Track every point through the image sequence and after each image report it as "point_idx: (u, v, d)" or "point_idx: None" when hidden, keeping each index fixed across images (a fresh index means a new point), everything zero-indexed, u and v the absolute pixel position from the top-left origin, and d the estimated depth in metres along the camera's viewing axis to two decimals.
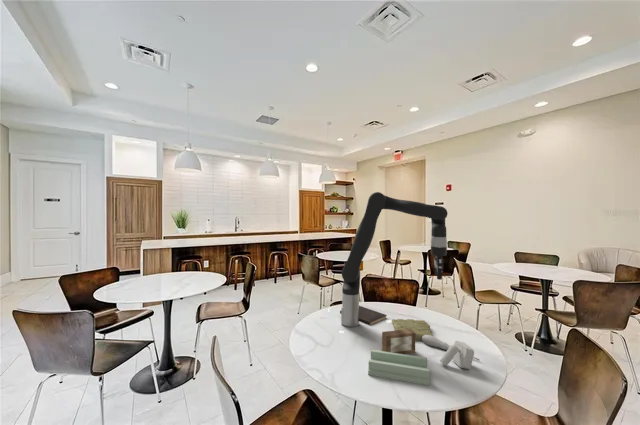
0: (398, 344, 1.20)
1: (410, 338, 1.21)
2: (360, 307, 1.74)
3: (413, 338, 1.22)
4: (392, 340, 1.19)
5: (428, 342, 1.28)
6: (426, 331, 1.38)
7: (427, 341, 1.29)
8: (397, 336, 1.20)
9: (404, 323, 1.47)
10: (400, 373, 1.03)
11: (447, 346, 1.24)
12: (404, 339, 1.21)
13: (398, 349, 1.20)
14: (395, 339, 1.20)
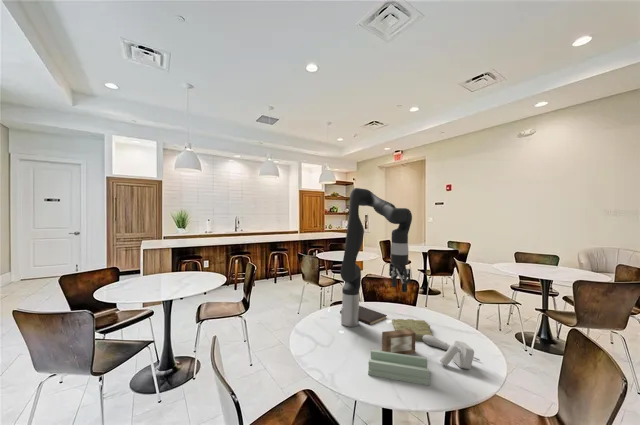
0: (398, 344, 1.20)
1: (410, 338, 1.21)
2: (360, 307, 1.74)
3: (413, 338, 1.22)
4: (392, 340, 1.19)
5: (428, 342, 1.29)
6: (426, 331, 1.38)
7: (427, 341, 1.29)
8: (397, 336, 1.20)
9: (404, 323, 1.47)
10: (400, 373, 1.03)
11: (447, 346, 1.24)
12: (404, 339, 1.21)
13: (398, 349, 1.20)
14: (395, 339, 1.20)
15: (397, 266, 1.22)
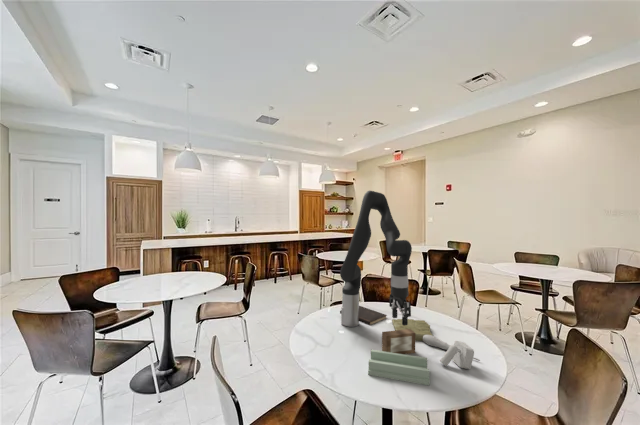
0: (398, 344, 1.20)
1: (410, 338, 1.21)
2: (360, 307, 1.74)
3: (413, 338, 1.22)
4: (392, 340, 1.19)
5: (428, 342, 1.29)
6: (426, 331, 1.38)
7: (427, 341, 1.29)
8: (397, 336, 1.20)
9: None
10: (400, 373, 1.03)
11: (447, 346, 1.24)
12: (404, 339, 1.21)
13: (398, 349, 1.20)
14: (395, 339, 1.20)
15: (397, 298, 1.22)
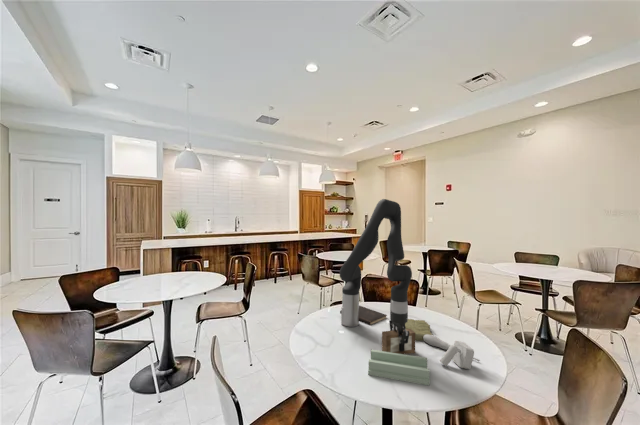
0: (398, 344, 1.20)
1: (410, 338, 1.21)
2: (360, 307, 1.74)
3: (413, 338, 1.22)
4: (392, 340, 1.19)
5: (429, 342, 1.29)
6: (426, 331, 1.38)
7: (428, 341, 1.29)
8: (397, 336, 1.20)
9: None
10: (400, 373, 1.03)
11: (447, 346, 1.24)
12: None
13: (398, 349, 1.20)
14: (395, 338, 1.20)
15: (396, 323, 1.22)
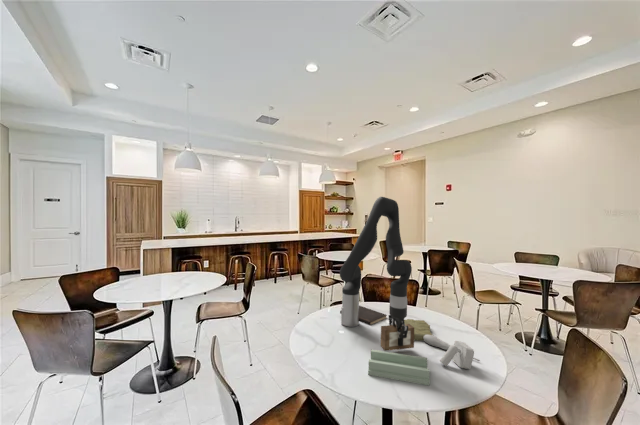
0: (397, 338, 1.20)
1: (409, 333, 1.21)
2: (360, 307, 1.74)
3: (412, 333, 1.22)
4: (391, 335, 1.19)
5: (429, 342, 1.29)
6: (426, 331, 1.38)
7: (428, 341, 1.29)
8: (396, 330, 1.20)
9: None
10: (400, 373, 1.03)
11: (448, 346, 1.24)
12: None
13: (397, 343, 1.20)
14: (394, 333, 1.20)
15: (396, 318, 1.22)
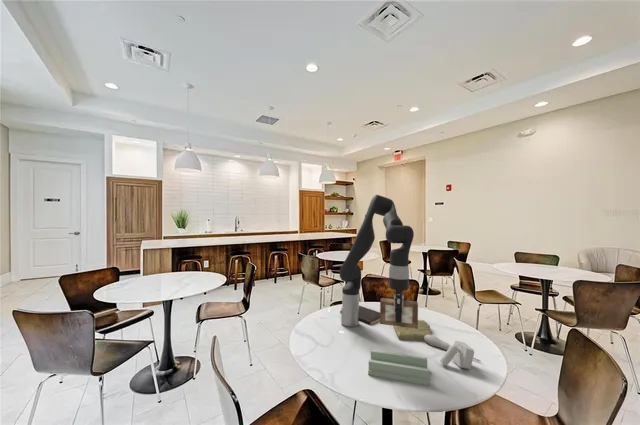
0: (394, 313, 1.06)
1: (410, 309, 1.05)
2: (360, 307, 1.74)
3: (415, 310, 1.04)
4: (387, 307, 1.07)
5: (430, 342, 1.29)
6: (426, 331, 1.38)
7: (428, 341, 1.29)
8: None
9: None
10: (400, 373, 1.03)
11: (448, 346, 1.23)
12: (402, 309, 1.05)
13: (394, 319, 1.06)
14: (390, 306, 1.07)
15: None
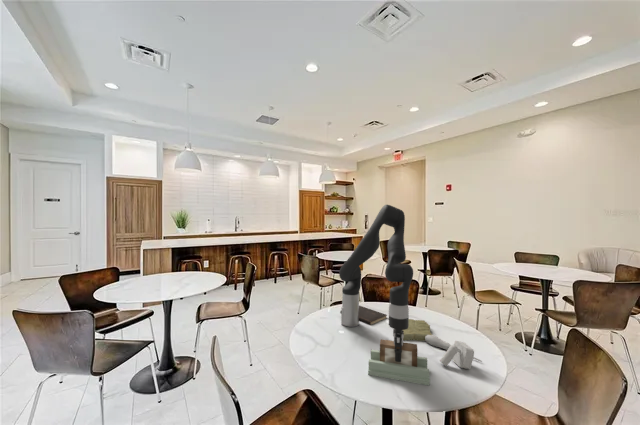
0: (394, 357, 1.07)
1: (410, 354, 1.05)
2: (360, 307, 1.74)
3: (414, 355, 1.05)
4: (386, 350, 1.07)
5: (431, 342, 1.29)
6: (426, 331, 1.38)
7: (429, 341, 1.29)
8: (393, 347, 1.07)
9: None
10: (400, 373, 1.03)
11: (449, 346, 1.23)
12: (402, 353, 1.06)
13: (394, 362, 1.07)
14: (390, 350, 1.07)
15: None
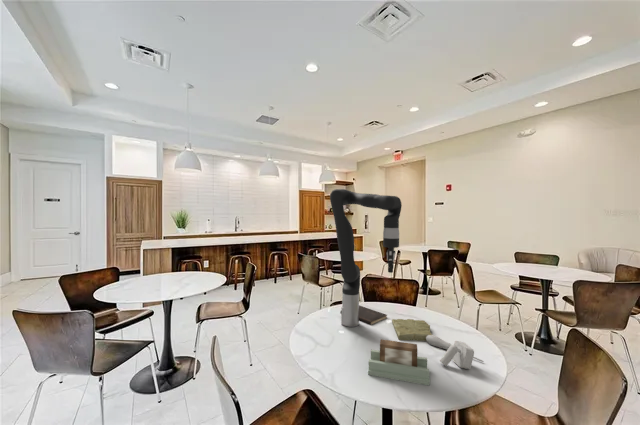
0: (394, 357, 1.07)
1: (410, 354, 1.05)
2: (360, 307, 1.74)
3: (414, 355, 1.05)
4: (386, 350, 1.07)
5: (432, 342, 1.28)
6: (426, 331, 1.38)
7: (431, 341, 1.29)
8: (393, 347, 1.07)
9: (404, 323, 1.47)
10: (400, 373, 1.03)
11: None
12: (402, 353, 1.06)
13: (394, 362, 1.07)
14: (390, 350, 1.07)
15: None
